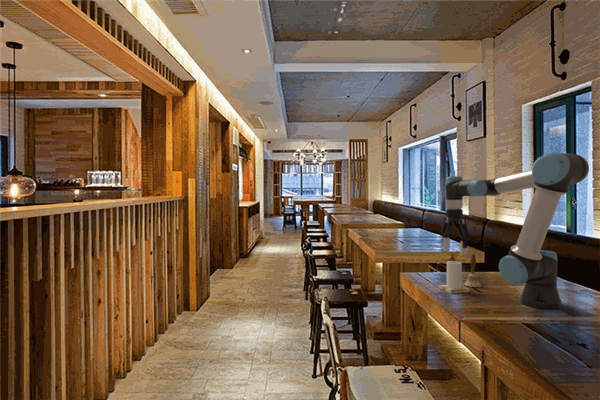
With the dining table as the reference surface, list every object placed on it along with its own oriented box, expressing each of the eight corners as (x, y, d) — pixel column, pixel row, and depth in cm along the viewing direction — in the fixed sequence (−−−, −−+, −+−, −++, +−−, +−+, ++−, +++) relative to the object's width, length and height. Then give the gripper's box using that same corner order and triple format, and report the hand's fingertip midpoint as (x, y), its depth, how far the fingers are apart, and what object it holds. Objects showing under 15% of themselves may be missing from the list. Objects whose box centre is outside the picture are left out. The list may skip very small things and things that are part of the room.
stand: (469, 291, 194) (469, 269, 194) (451, 293, 192) (451, 271, 191) (456, 286, 204) (456, 265, 203) (438, 288, 201) (438, 267, 201)
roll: (464, 288, 195) (464, 263, 195) (452, 289, 194) (452, 263, 193) (455, 284, 202) (455, 260, 201) (444, 285, 200) (444, 261, 200)
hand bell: (478, 283, 210) (478, 252, 209) (483, 288, 201) (484, 255, 201) (461, 283, 210) (461, 252, 210) (466, 287, 202) (466, 255, 202)
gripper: (478, 209, 185) (478, 256, 185) (445, 207, 209) (446, 249, 210) (463, 209, 183) (464, 257, 184) (432, 208, 207) (433, 249, 208)
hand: (454, 252), depth 197 cm, fingers open, 13 cm apart
